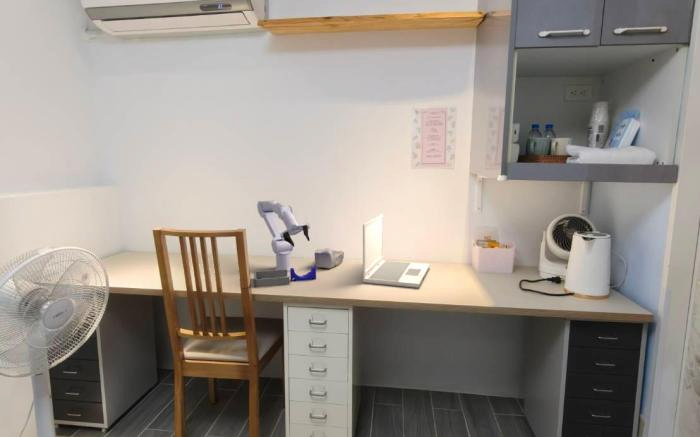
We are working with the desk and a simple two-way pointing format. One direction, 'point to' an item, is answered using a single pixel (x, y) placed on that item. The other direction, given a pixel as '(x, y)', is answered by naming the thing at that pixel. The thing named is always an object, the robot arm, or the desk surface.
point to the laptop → (386, 270)
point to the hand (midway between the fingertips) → (301, 242)
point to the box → (270, 281)
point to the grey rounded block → (328, 258)
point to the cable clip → (308, 276)
